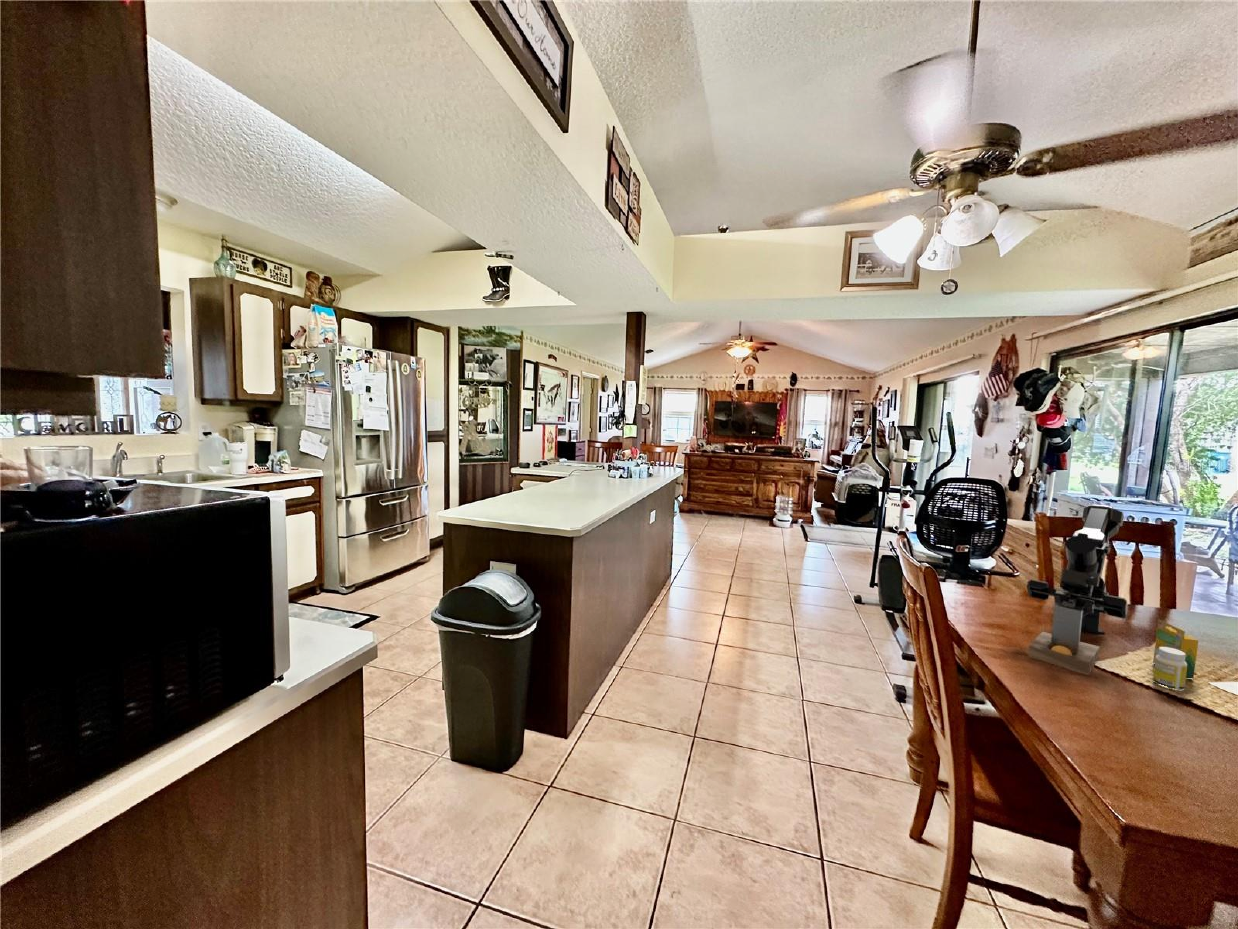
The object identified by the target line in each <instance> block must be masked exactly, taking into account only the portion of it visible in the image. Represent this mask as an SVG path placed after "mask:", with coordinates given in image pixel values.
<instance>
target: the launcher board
mask: <svg viewBox="0 0 1238 929" xmlns="http://www.w3.org/2000/svg"><path fill="white" fill-rule="evenodd" d="M1051 636H1052V633H1049V632H1045V631H1042V632H1041V633H1040V634H1039V635H1038V636H1037V637H1036V638H1035V639H1034V640H1033V641H1032V642H1031V644H1030V645H1029V647H1028V656H1027V657H1028V658H1029V657H1032V658H1031V659H1033V658H1034V659H1033V660H1036V659H1038V660H1037V661H1039V660H1041V661H1040V662H1043V661H1045V662H1044V663H1046V662H1047V663H1046V664H1049V663H1050V664H1049V665H1052V664H1054V665H1053V666H1056V665H1057V666H1056V667H1060V668H1062V667H1064V668H1063V669H1065V668H1066V669H1067V670H1070V671H1072V672H1075V671H1076V672H1075V673H1079V674H1082V675H1085V674H1086V675H1085V676H1089V675H1090V673H1091V671H1092V670H1093V668H1094V666H1095V665H1096V663H1097V661H1098V659H1099V654H1100V646H1098V645H1095V644H1090V643H1086V642H1082V641H1080V644H1079V649H1078V650H1075V649H1072V648H1068V647H1066V648H1067V649H1069V650H1070V652H1071V653H1072V655H1066V654H1062V653H1059V652H1055V651H1052V650H1051V649H1052V647H1054V646H1061V645H1057V644H1054V643H1051ZM1064 647H1065V646H1064ZM1095 662H1096V663H1095ZM1094 664H1095V665H1094Z"/></svg>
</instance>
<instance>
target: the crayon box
mask: <svg viewBox="0 0 1238 929" xmlns="http://www.w3.org/2000/svg"><path fill="white" fill-rule="evenodd" d="M1185 633H1186V632H1185V630H1184V629H1181V628H1178V627H1177V626H1174V625H1173V624H1169V623H1168V622H1165V621H1163V620H1161V619H1158V621H1157V630H1156V636H1155V638H1156V639H1155V644H1154V646H1155V647H1154V651H1153V652H1154V653H1153V658H1152V664H1153V663H1155V657H1156V656H1157V655H1159V654H1158V650H1159V647H1169V648H1173V649H1177V650H1180V651H1182V652H1184V653H1185V654H1186V656H1185V660H1184V661H1185V662H1186V663H1187V672H1186V678H1194V677H1195V671H1196V670H1195V668H1196V661H1197V655H1198V654H1197V653H1198V648H1199V640H1198V639H1195V638H1194V637H1191V636H1189V635H1187V634H1185ZM1194 679H1195V678H1194Z"/></svg>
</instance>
